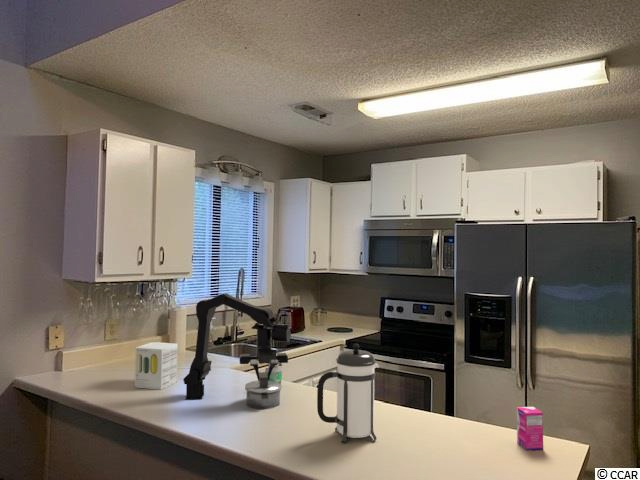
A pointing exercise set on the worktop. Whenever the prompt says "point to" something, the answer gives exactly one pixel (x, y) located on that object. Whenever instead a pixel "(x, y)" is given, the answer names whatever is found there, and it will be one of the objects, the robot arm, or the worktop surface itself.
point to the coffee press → (352, 394)
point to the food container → (276, 373)
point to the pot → (263, 400)
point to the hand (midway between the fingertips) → (263, 380)
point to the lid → (263, 385)
